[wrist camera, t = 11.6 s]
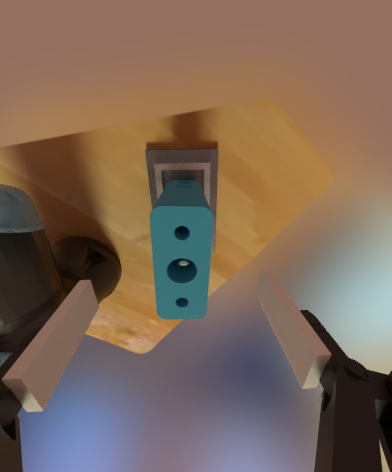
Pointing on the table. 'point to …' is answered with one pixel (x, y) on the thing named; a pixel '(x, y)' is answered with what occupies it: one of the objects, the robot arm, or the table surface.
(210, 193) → the grey rectangular tray
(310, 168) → the table surface
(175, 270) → the block
